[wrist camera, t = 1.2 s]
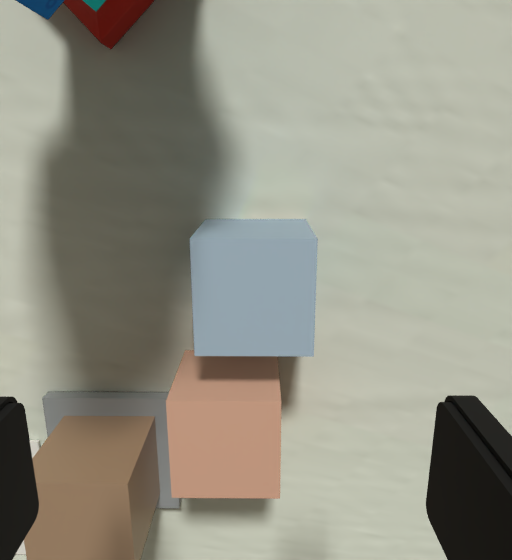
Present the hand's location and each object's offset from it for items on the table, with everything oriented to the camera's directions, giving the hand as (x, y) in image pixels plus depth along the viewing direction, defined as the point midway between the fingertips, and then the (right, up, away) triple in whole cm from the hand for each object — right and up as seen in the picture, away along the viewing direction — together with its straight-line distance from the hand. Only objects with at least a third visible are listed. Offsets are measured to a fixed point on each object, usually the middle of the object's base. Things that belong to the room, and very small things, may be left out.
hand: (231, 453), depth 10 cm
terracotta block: (-1, -3, +19) cm, 19 cm away
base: (-8, -7, +20) cm, 23 cm away
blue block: (+1, +5, +16) cm, 17 cm away
